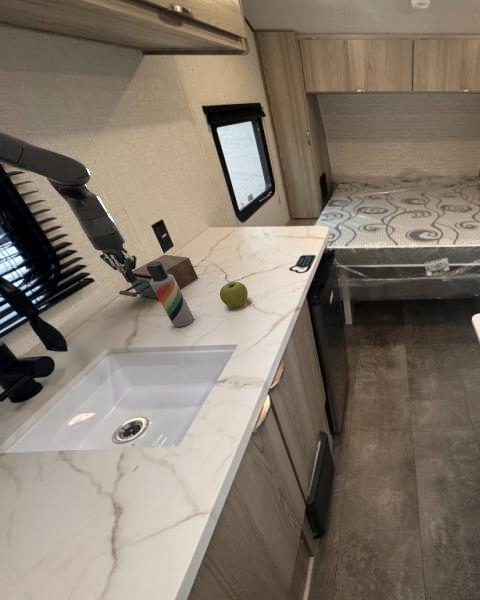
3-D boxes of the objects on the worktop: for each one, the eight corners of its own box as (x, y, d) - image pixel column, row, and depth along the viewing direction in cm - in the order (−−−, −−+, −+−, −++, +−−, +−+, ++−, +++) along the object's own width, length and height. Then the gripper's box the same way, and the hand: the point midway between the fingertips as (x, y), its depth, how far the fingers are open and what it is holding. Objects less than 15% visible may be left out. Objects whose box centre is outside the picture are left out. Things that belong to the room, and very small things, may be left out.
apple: (255, 301, 106) (249, 283, 102) (233, 314, 101) (225, 295, 97) (242, 295, 110) (235, 276, 106) (220, 306, 104) (212, 287, 100)
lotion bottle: (170, 322, 98) (138, 264, 87) (190, 313, 102) (161, 256, 90) (177, 330, 95) (143, 270, 84) (197, 321, 98) (168, 262, 87)
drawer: (144, 308, 104) (134, 290, 100) (121, 303, 107) (110, 286, 103) (190, 279, 118) (182, 263, 115) (168, 276, 121) (160, 260, 117)
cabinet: (167, 298, 110) (155, 276, 105) (142, 293, 113) (129, 272, 109) (198, 278, 121) (188, 257, 116) (174, 274, 124) (164, 254, 119)
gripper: (72, 234, 93) (106, 285, 103) (105, 237, 90) (136, 290, 100) (99, 224, 99) (128, 273, 109) (130, 227, 96) (158, 278, 106)
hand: (132, 281), depth 104 cm, fingers closed
